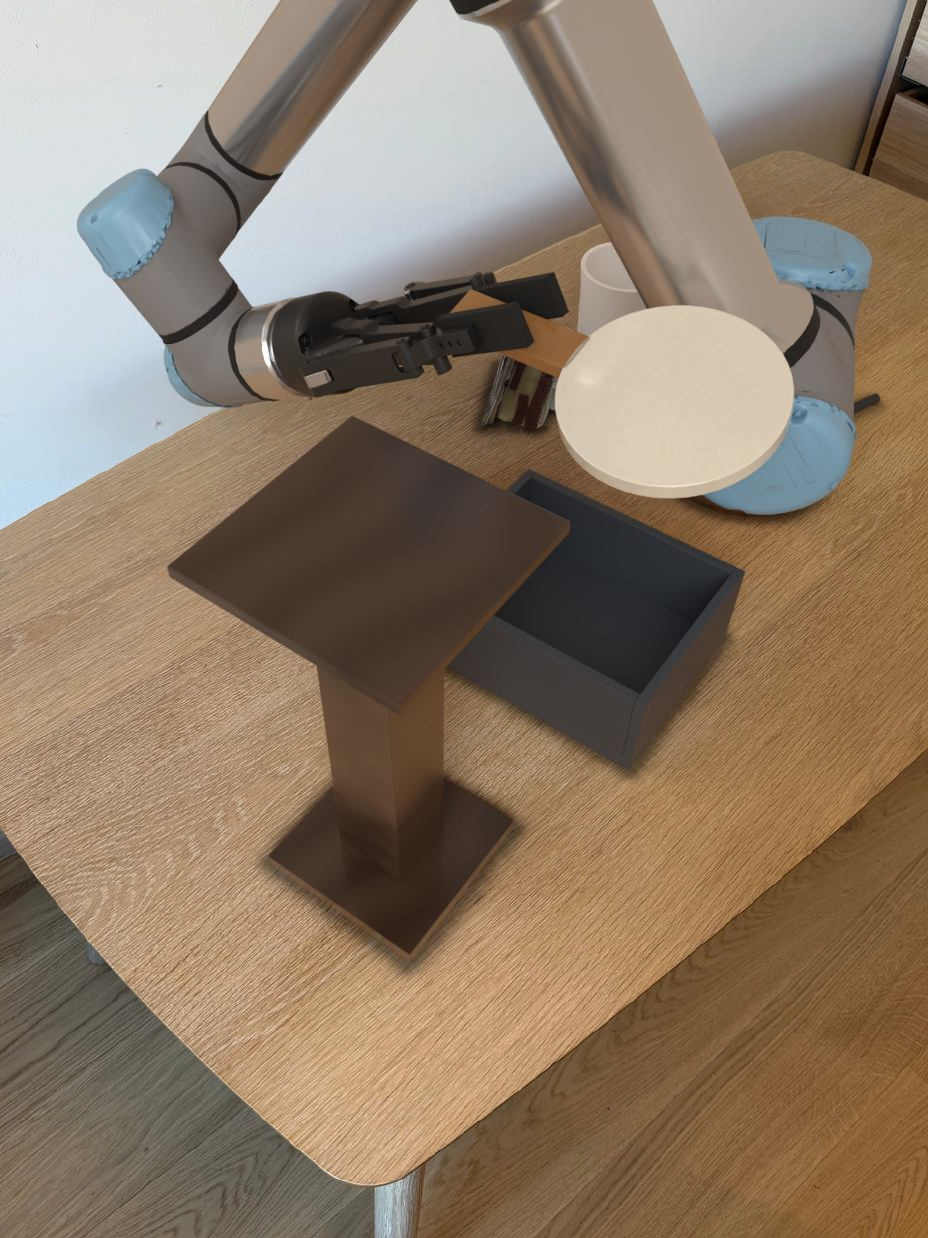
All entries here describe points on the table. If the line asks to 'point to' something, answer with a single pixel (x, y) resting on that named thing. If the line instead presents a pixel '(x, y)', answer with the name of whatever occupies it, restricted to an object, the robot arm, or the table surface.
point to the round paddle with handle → (663, 396)
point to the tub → (603, 626)
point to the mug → (605, 289)
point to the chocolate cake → (521, 394)
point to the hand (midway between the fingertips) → (540, 309)
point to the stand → (378, 656)
